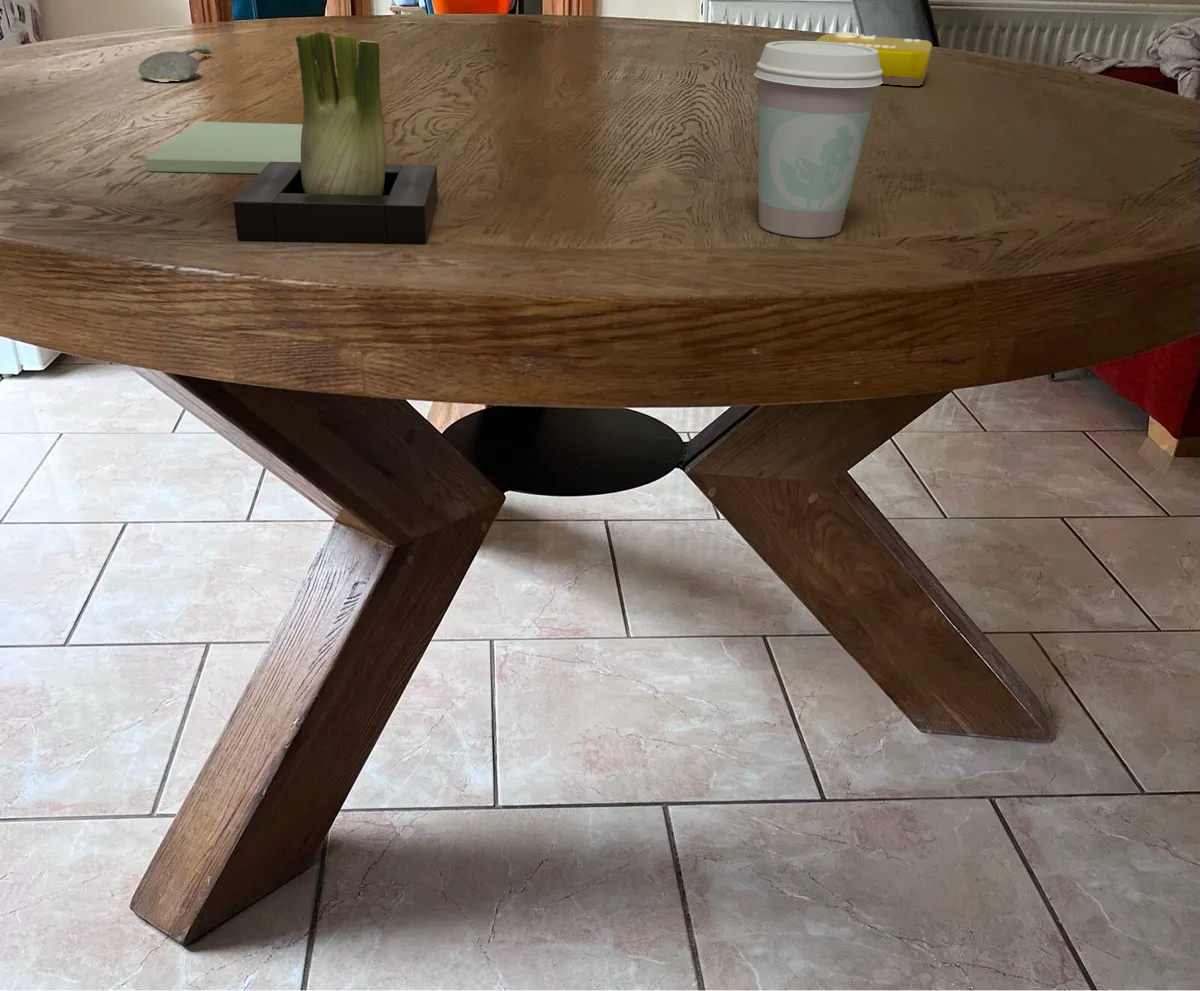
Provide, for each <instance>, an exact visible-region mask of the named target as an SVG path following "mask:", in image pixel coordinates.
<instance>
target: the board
mask: <svg viewBox="0 0 1200 991" xmlns="http://www.w3.org/2000/svg"><path fill="white" fill-rule="evenodd" d="M302 127H303V123H266V122H264V123H263V122H229V121H228V122H226V121H225V122H223V121H196V122H195V123H194V124H193V125H191V126H190V127H189V128H187V129H186V130H184V131H183V132H182V133H180V134H179V135H178V136H176V137H175V138H173V139H172V140H171V141H169V142H167V144H165V145H163V146H162V147H160V148H159V149H158V150H157V151H155V152H154V153H152V154H151V155H150V156H148V157H147V158H146V159H145V160H146V168H147V171H148V172H158V173H159V172H160V173H199V174H200V173H203V174H205V173H206V174H207V173H208V174H209V173H210V174H213V173H214V174H248V175H249V174H251V175H252V174H253V175H259V173H260V172H261V171H262V170H263V169H264V168H265V167H266V166H267V165H268V164H269V163H270V162H301V134H302Z"/></svg>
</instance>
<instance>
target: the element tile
mask: <svg viewBox="0 0 1200 991" xmlns="http://www.w3.org/2000/svg"><path fill="white" fill-rule="evenodd" d="M815 41H822V42H835V43H846V44H854V45H860V46H866V47H870V48H874V49H876V50H878V52H879V60H880V68H881V69H882V71H883V74H882V75H884V76H898V77H909V78H910V77H911V78H919V77H925V76H926V72H927V69H928V70H929V67H928V65H929V66H930V59H931V53H932V48H933V43H932V42H931V41H929V40H927V39H918V38H917V39H913V38H899V37H882V36H877V34H873V35H865V34H864V33H861V34H858V33H857V32H849V31H836V32H834V33H827V34H826V33H825V34H823V35H821V36H820V37H819V38H818V39H817V40H815ZM926 77H927V76H926Z"/></svg>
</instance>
